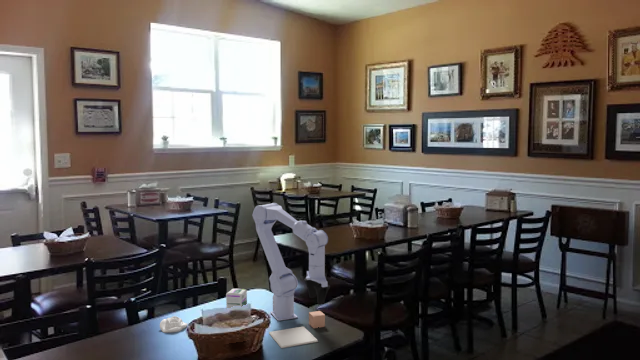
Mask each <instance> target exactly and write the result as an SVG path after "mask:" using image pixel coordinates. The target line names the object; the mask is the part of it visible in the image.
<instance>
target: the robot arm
mask: <svg viewBox="0 0 640 360" xmlns="http://www.w3.org/2000/svg"><path fill="white" fill-rule="evenodd" d="M251 216H252V219H253V221H254V223H255V230H256V233H257V235H258V238H259V241H260V243H261V246H262V248H263V251H264V252H263V253H264V254H265V256H266V260H267V261H268V262H267V263H268V265H269V268H270V270H271V275H270V276H269V278H268V279H269V283H270V291H271V292H272V293H273V295H272V311H270V314H271V315H272V316H273V317H274V318H275V320H277V321H278V322H280V321H286V320H291V319H297V318H298V316H297V314H295V305H294V304H295V303H294V302H295V299H294V298H295V297H294V296H295V292H296V289H297V288H298V285H299V283H298V278H297V277H296V275H295V274H294V273H293V270H292V269H290V268H288V267H286V264H285V262H284V259H283V256H282V254H281V251H280V249H279V246H278V244H277V241H276V239H275V235H274V233H273V231H272V228H273V226H274V224H275V223H276V222H277V221H278V222H280V223H282V224H284V225H285V226H287V227H289V228H291V229H292V233H293V234H294V235H295V236H297V237H298V238H300V239H301V240H302V241H304V243H305V245H306V247H307V251H308V270H306V277H305V278H304V279H303V281H304V283H305V284H306V289H307V292H308V296H309V299H313V298H314V299H315V298H316V299H317V301H316V302H317V304H318V306H319V305H320V306H321V305H324V304H325V302H326V301H325V300H326V298H327V295H328V292H329V290H330V288H331V285H329V284H328V281H327V277H326V276H325V275H326V273H325V271H326V270H325V266H326V264H325V263H326V256H325V255H326V248H325V247H326V246H327V244H328V243H329V237H328V234H327V232H325V231H324V230H322V229H319V230H318V229H317V228H316V227H314V226H311V225H310V224H308V222H307V220H297V219H296V218H295V217H293V216H292V215H290V213H288V212H287V211H285V210H284V209H283V207H282V205H279V204H278V203H277V202H272V203H266V204H262V205H259V204H257V205H256V206H255V207H254V209H253V212H252V214H251Z"/></svg>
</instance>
